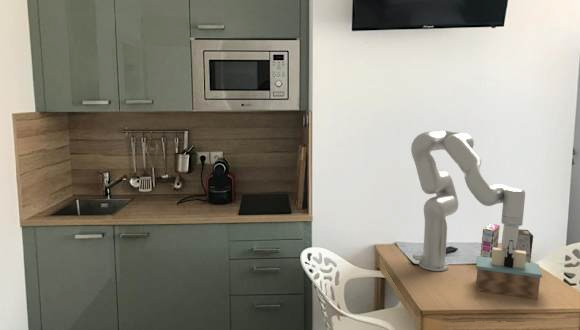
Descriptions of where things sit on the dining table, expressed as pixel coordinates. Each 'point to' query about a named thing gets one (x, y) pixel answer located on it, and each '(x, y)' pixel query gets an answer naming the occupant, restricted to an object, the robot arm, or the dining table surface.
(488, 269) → the lid
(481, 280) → the open wooden box
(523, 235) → the coffee box
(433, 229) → the robot arm
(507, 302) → the dining table surface
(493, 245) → the candy bar box
